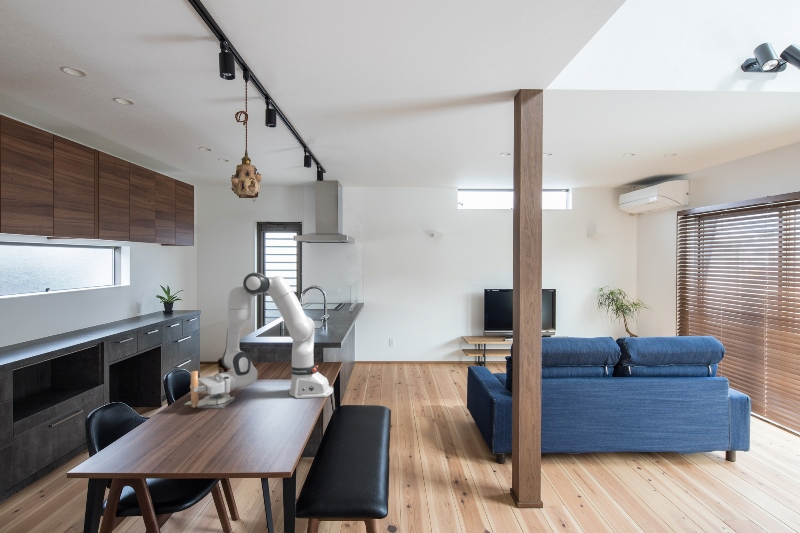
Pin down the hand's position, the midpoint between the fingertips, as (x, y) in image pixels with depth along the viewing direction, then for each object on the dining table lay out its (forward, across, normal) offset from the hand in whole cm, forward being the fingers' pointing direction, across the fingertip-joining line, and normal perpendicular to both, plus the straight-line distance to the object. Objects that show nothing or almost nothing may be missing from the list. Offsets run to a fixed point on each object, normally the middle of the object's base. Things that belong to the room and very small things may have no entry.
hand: (191, 388), depth 179 cm
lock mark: (-2, -10, +10) cm, 14 cm away
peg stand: (-8, 0, +8) cm, 12 cm away
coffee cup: (-27, -37, +10) cm, 47 cm away
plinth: (-11, 0, +10) cm, 15 cm away
